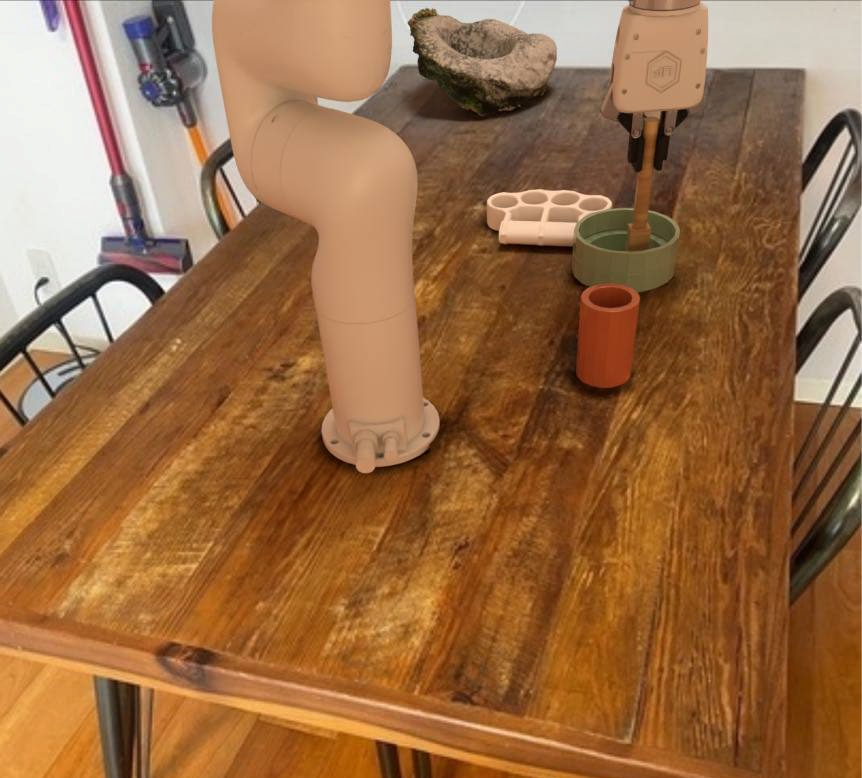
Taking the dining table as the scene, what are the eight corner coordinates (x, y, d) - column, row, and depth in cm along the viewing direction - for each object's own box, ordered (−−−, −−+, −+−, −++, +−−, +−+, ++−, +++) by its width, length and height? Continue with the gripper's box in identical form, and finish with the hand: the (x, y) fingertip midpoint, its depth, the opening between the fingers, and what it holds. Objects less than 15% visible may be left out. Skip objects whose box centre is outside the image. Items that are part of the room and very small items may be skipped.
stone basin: (386, 42, 173) (411, -40, 163) (516, 90, 184) (548, 16, 174) (403, 105, 154) (433, 18, 144) (546, 154, 165) (584, 76, 155)
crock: (635, 391, 94) (645, 309, 87) (580, 395, 94) (586, 313, 87) (624, 361, 98) (633, 281, 91) (572, 365, 98) (577, 285, 91)
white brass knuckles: (476, 249, 121) (493, 205, 131) (605, 254, 117) (613, 209, 128) (475, 226, 119) (493, 183, 129) (607, 231, 115) (615, 187, 125)
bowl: (684, 293, 109) (691, 248, 104) (580, 301, 109) (583, 257, 105) (660, 247, 118) (666, 204, 114) (565, 254, 118) (567, 211, 114)
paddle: (647, 258, 112) (664, 121, 100) (627, 259, 112) (642, 122, 100) (644, 251, 113) (660, 115, 101) (624, 252, 113) (638, 116, 101)
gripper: (598, 6, 89) (586, 184, 102) (750, -6, 89) (719, 174, 102) (586, -10, 94) (576, 160, 107) (729, -22, 94) (702, 151, 107)
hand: (646, 166), depth 104 cm, fingers closed on paddle, 1 cm apart
